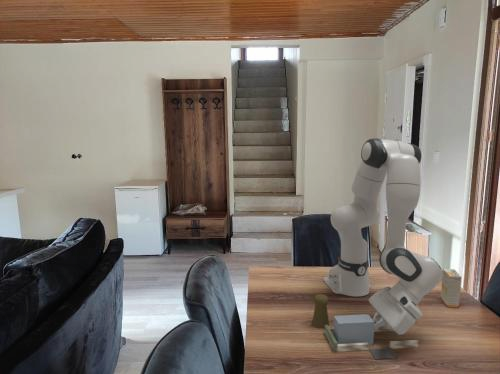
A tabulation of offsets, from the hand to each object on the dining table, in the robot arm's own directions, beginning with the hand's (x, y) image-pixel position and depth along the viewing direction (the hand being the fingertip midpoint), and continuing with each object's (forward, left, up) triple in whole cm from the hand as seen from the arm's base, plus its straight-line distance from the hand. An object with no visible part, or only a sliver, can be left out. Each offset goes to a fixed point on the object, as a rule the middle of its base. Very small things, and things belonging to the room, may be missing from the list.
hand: (372, 326), depth 122 cm
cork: (-15, -11, -5) cm, 19 cm away
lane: (0, -1, -5) cm, 5 cm away
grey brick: (-2, -6, -5) cm, 8 cm away
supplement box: (-11, +47, -5) cm, 48 cm away
